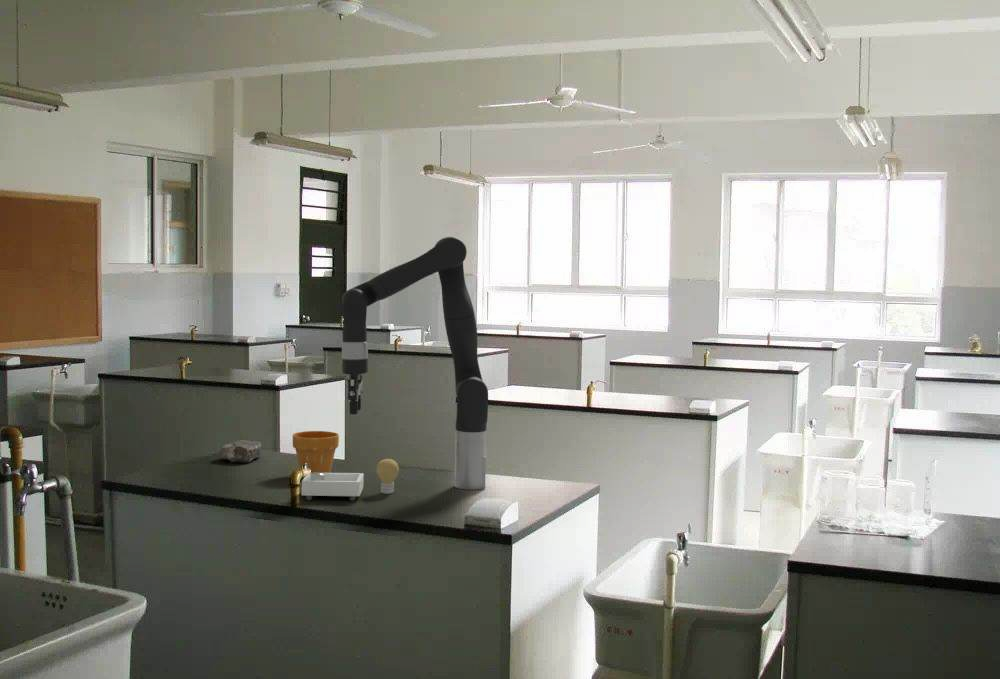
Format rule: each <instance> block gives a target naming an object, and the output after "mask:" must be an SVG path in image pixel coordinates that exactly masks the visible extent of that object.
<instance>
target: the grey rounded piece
mask: <svg viewBox="0 0 1000 679" xmlns="http://www.w3.org/2000/svg"><path fill="white" fill-rule="evenodd" d="M310 481H325V473H323V472H313V473H310Z"/></svg>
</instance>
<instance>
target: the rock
mask: <svg viewBox="0 0 1000 679" xmlns="http://www.w3.org/2000/svg"><path fill="white" fill-rule="evenodd" d="M262 448H263V447H262V442H261V441H252V440H245V439H244V438H243V439H242V438H241V439H238V440H236V441H230V442H228V443H227V444H223V446H222V447H220V451H219V453H218V456H219V458H220V459H223V460H228V461H230V463H246V464H247V463H251V461H253V460H254V459H258V458H261V456H262V455H263V452H262Z"/></svg>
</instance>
